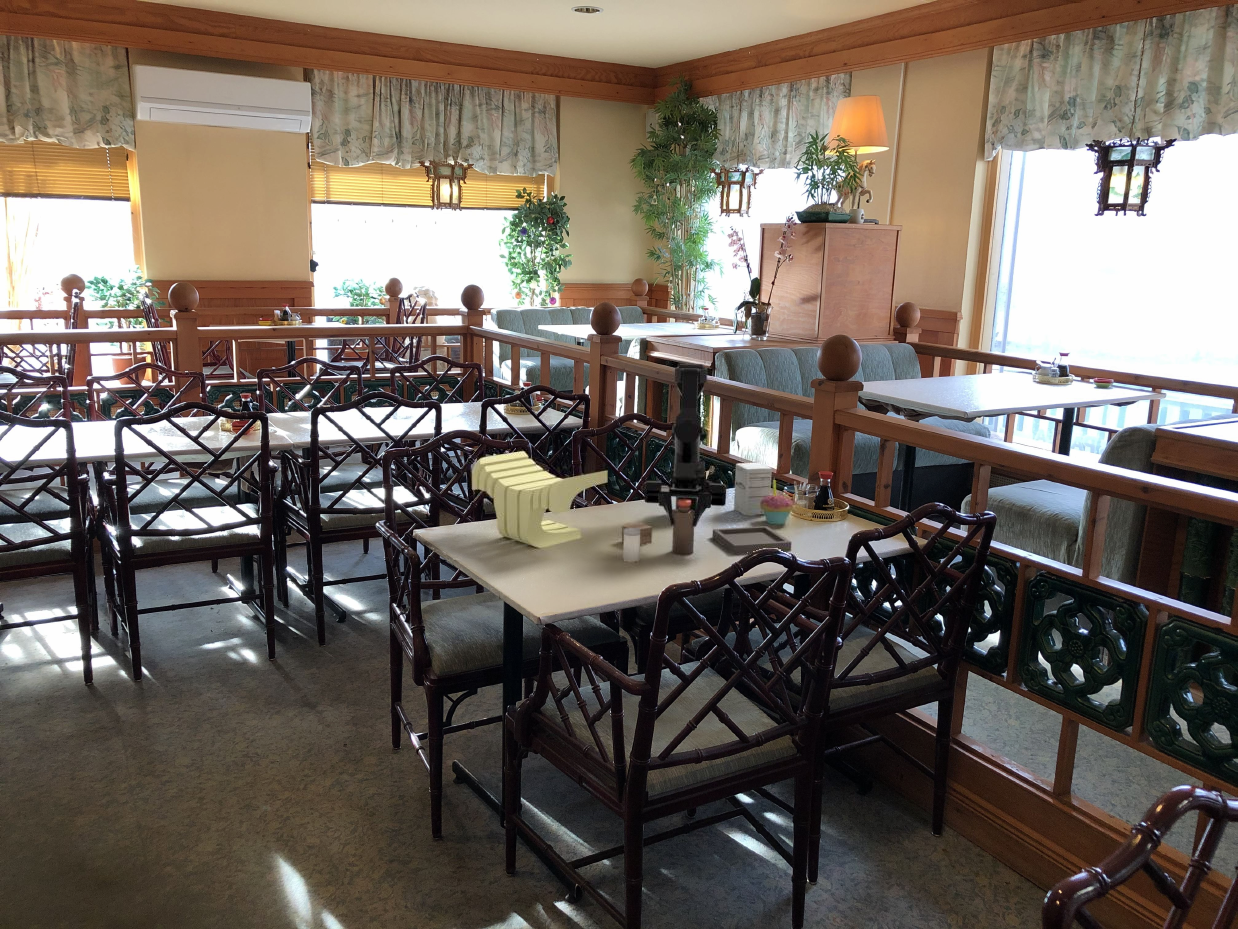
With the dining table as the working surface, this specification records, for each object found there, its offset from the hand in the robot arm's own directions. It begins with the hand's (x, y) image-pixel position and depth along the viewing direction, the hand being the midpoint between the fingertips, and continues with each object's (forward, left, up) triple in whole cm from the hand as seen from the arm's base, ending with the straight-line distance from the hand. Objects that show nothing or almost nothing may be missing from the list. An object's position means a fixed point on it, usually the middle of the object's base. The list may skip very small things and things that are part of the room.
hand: (683, 525), depth 218 cm
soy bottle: (-1, +1, -7) cm, 7 cm away
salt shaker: (+2, -12, -7) cm, 14 cm away
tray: (-4, +19, -7) cm, 20 cm away
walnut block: (-11, -7, -7) cm, 15 cm away
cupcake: (-21, +33, -7) cm, 39 cm away
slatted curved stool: (-19, -29, -7) cm, 36 cm away
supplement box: (-32, +31, -7) cm, 45 cm away
